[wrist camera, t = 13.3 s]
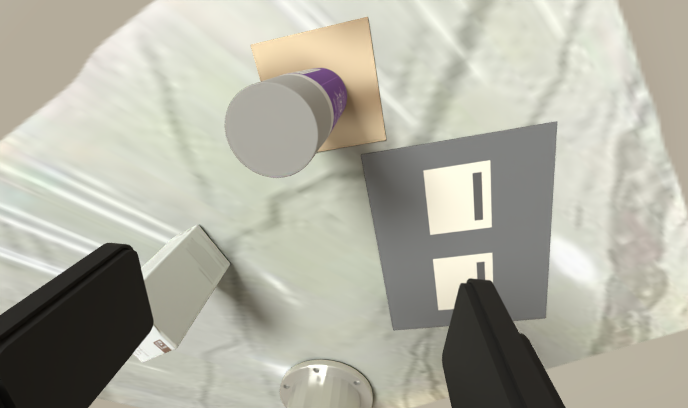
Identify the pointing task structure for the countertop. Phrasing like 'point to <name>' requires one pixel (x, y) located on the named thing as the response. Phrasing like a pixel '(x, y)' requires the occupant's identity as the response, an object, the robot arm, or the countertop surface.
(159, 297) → the skincare box
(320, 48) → the oak pad
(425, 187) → the label mat
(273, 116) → the container
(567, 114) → the countertop surface
